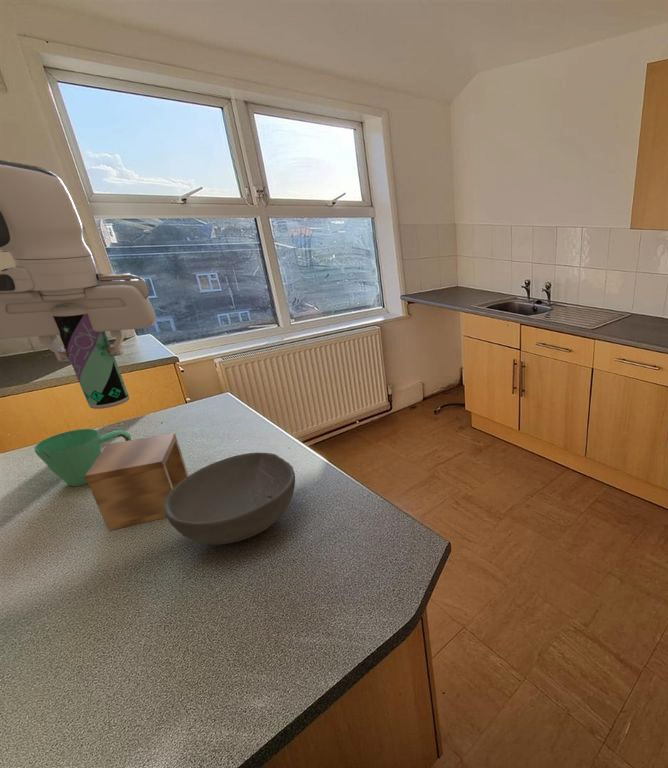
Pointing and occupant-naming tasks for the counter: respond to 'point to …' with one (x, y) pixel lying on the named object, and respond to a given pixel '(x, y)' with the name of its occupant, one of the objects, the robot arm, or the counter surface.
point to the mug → (74, 452)
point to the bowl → (231, 498)
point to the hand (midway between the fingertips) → (92, 357)
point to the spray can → (90, 357)
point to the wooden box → (136, 479)
